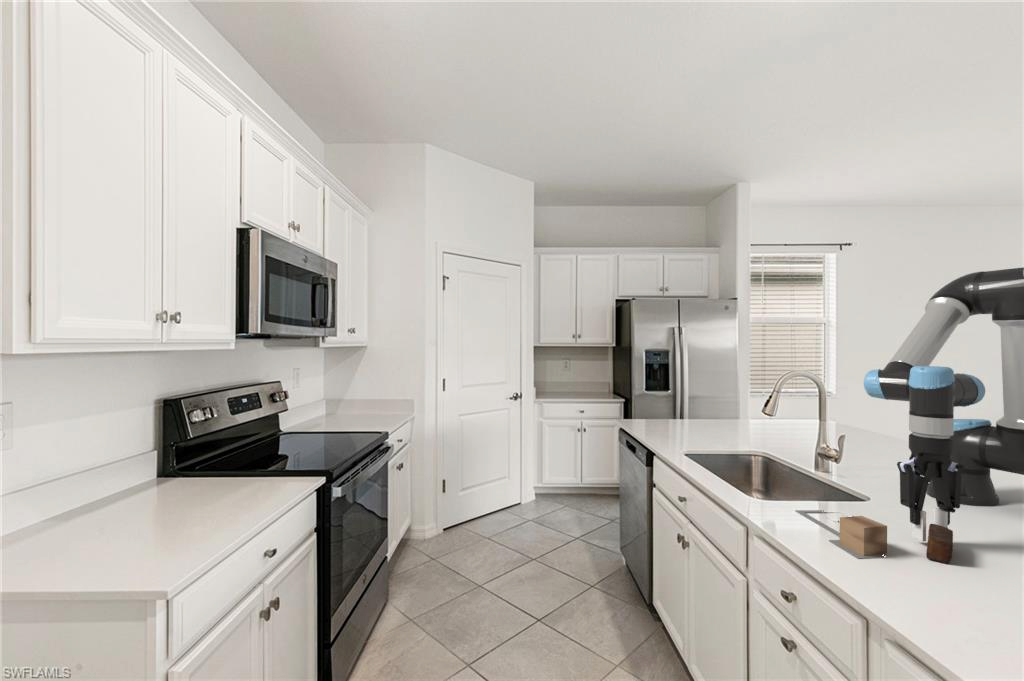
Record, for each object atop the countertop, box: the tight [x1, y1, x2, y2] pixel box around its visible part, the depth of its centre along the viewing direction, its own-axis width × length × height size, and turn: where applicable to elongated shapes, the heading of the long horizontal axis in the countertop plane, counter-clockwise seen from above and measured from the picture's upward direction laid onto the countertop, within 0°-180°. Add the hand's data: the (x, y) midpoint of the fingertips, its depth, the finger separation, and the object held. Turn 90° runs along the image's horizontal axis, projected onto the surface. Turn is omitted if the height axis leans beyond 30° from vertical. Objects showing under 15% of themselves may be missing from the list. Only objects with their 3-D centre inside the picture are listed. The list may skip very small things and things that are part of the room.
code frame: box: [794, 509, 840, 538], centre depth 120 cm, size 13×17×1 cm
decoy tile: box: [828, 539, 886, 560], centre depth 105 cm, size 9×9×1 cm
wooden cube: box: [839, 515, 888, 556], centre depth 105 cm, size 6×6×6 cm
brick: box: [925, 523, 954, 565], centre depth 101 cm, size 11×4×5 cm, turn 137°
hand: (929, 538), depth 106 cm, fingers closed on brick, 4 cm apart
